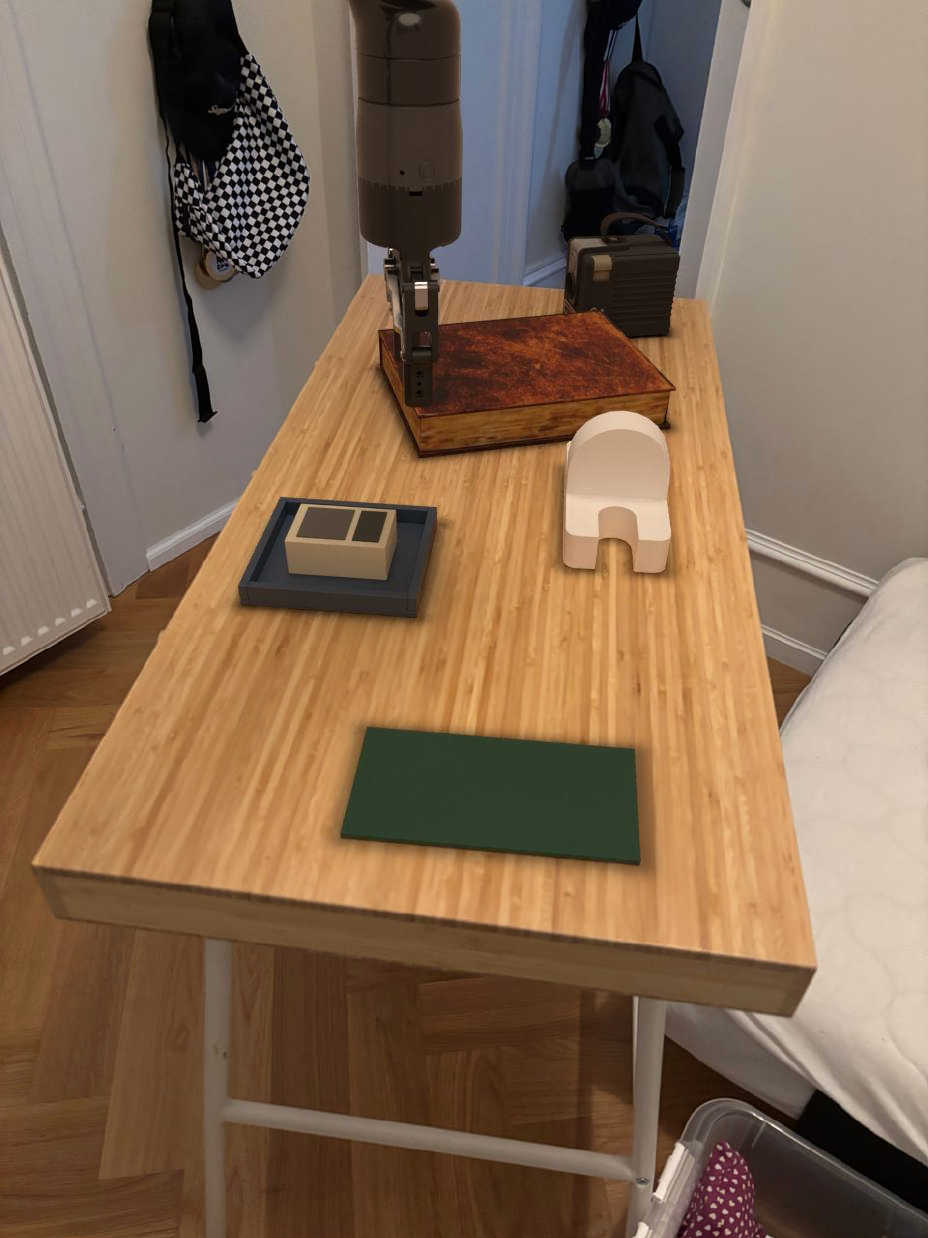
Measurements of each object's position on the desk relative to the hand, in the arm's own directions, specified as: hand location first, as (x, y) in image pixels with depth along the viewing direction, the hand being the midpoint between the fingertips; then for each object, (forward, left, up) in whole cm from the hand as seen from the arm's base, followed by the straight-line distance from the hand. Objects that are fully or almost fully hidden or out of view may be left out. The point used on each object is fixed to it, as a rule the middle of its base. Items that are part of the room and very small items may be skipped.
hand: (412, 381), depth 77 cm
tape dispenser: (+18, +9, -18) cm, 27 cm away
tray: (-7, -1, -18) cm, 19 cm away
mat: (+9, -27, -18) cm, 34 cm away
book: (+7, +35, -18) cm, 40 cm away
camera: (+19, +59, -18) cm, 65 cm away
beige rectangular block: (-7, -1, -17) cm, 18 cm away
